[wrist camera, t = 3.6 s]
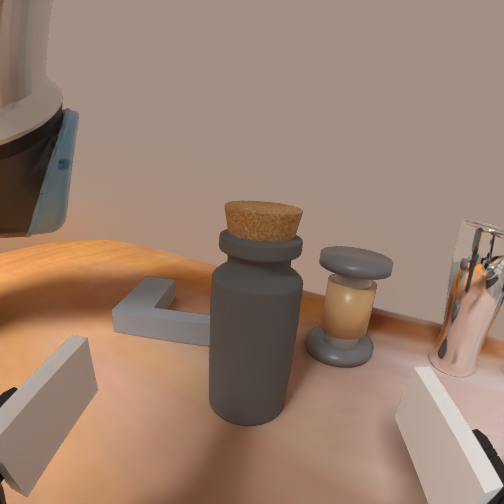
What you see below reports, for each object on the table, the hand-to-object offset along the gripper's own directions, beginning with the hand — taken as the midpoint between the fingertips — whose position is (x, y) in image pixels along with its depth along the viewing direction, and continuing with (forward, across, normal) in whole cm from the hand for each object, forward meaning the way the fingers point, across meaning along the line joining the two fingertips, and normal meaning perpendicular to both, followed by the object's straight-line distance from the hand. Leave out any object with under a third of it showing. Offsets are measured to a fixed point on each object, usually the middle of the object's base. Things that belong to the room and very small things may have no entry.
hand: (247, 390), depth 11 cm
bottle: (+10, 0, -10) cm, 14 cm away
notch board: (+23, -6, -9) cm, 25 cm away
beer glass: (+16, +22, -10) cm, 29 cm away
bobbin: (+19, +9, -9) cm, 23 cm away
